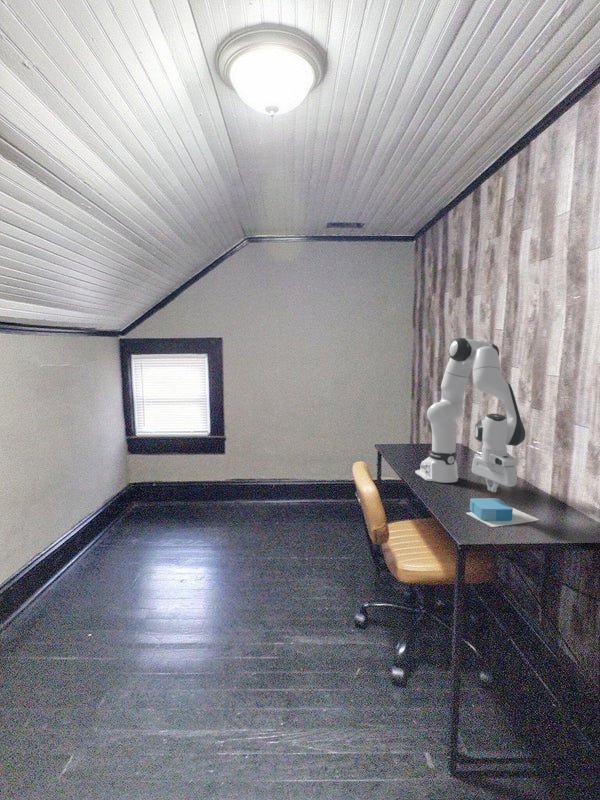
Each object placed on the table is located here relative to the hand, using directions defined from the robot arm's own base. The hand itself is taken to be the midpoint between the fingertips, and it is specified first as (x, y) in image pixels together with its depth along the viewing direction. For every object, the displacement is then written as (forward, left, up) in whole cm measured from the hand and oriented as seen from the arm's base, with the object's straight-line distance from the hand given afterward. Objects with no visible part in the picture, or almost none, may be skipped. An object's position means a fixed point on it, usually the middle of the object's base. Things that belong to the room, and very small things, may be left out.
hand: (491, 491), depth 166 cm
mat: (+5, +1, -9) cm, 10 cm away
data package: (-4, -1, -6) cm, 7 cm away
